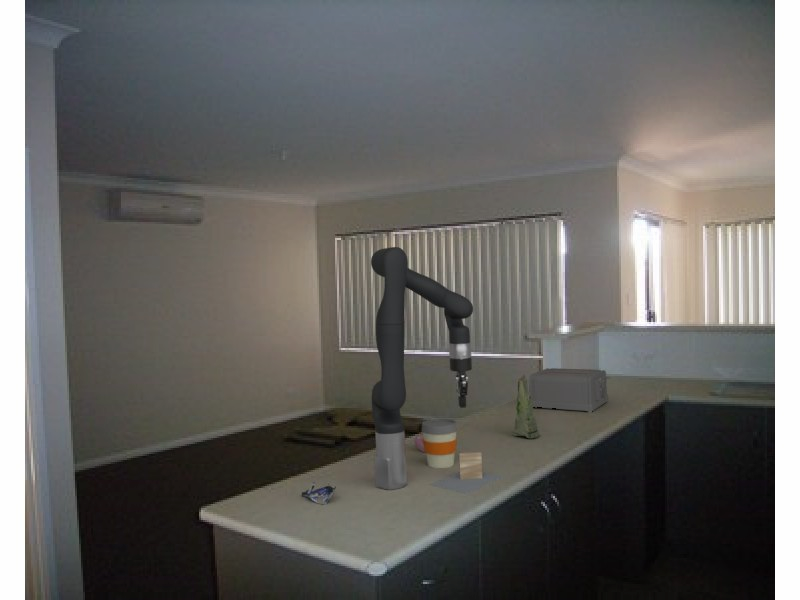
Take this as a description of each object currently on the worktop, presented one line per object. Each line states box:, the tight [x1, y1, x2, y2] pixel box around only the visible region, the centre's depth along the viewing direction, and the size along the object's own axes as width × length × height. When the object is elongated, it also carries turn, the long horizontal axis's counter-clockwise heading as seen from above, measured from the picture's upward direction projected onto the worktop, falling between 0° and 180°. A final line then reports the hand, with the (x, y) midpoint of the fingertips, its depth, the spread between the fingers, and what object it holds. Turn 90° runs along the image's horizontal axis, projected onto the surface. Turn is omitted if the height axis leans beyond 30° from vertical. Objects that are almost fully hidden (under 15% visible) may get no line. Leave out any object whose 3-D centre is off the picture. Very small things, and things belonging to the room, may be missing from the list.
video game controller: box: [413, 433, 425, 453], centre depth 234 cm, size 10×5×7 cm, turn 141°
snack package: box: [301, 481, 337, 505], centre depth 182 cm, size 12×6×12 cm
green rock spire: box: [513, 374, 540, 439], centre depth 248 cm, size 11×12×25 cm
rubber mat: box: [428, 471, 504, 495], centre depth 192 cm, size 20×15×1 cm
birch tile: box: [458, 451, 483, 479], centre depth 194 cm, size 2×7×8 cm, turn 93°
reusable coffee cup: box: [421, 418, 458, 469], centre depth 211 cm, size 13×13×15 cm
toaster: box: [528, 367, 611, 413], centre depth 309 cm, size 31×36×17 cm
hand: (462, 406), depth 207 cm, fingers closed
